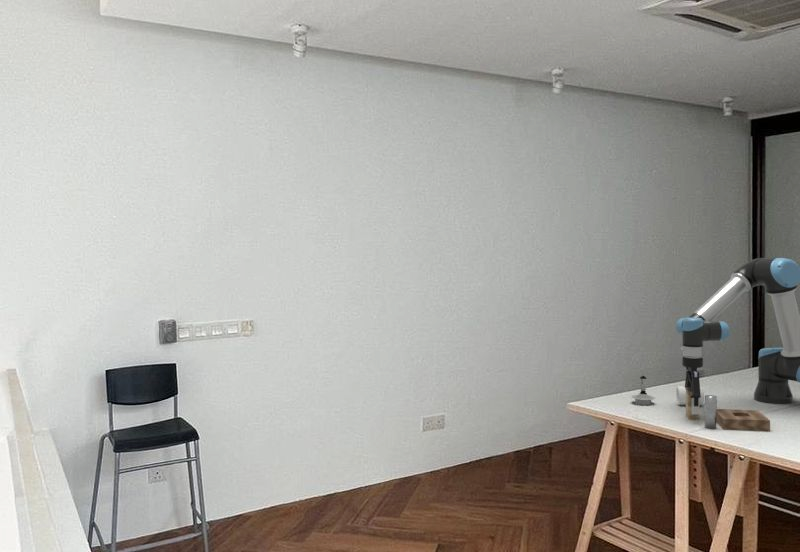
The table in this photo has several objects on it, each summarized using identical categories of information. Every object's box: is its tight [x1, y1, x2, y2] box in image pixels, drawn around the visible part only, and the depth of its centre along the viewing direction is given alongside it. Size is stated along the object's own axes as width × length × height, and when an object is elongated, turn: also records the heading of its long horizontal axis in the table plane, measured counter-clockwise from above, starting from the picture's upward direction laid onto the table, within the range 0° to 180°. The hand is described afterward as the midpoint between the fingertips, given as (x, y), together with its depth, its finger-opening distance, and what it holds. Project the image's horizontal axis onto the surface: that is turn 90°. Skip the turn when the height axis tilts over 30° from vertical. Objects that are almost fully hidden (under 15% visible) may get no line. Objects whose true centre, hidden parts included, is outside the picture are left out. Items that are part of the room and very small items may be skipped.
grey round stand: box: [630, 375, 656, 406], centre depth 305 cm, size 12×10×10 cm
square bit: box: [685, 387, 700, 420], centre depth 278 cm, size 4×4×12 cm
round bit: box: [704, 394, 718, 430], centre depth 263 cm, size 4×4×12 cm
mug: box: [675, 385, 705, 407], centre depth 302 cm, size 12×10×8 cm
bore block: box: [716, 408, 771, 432], centre depth 266 cm, size 16×16×4 cm
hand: (692, 410), depth 278 cm, fingers open, 12 cm apart
